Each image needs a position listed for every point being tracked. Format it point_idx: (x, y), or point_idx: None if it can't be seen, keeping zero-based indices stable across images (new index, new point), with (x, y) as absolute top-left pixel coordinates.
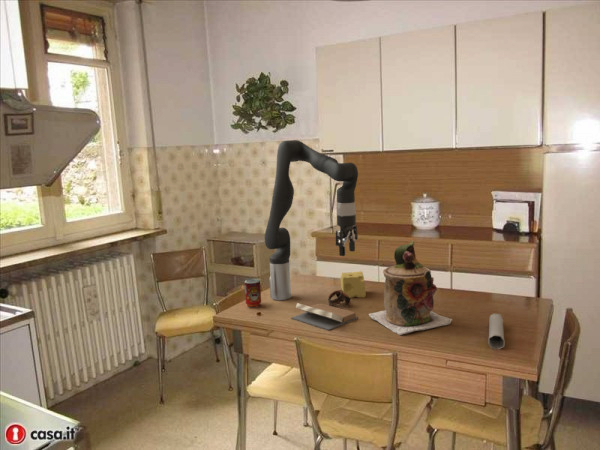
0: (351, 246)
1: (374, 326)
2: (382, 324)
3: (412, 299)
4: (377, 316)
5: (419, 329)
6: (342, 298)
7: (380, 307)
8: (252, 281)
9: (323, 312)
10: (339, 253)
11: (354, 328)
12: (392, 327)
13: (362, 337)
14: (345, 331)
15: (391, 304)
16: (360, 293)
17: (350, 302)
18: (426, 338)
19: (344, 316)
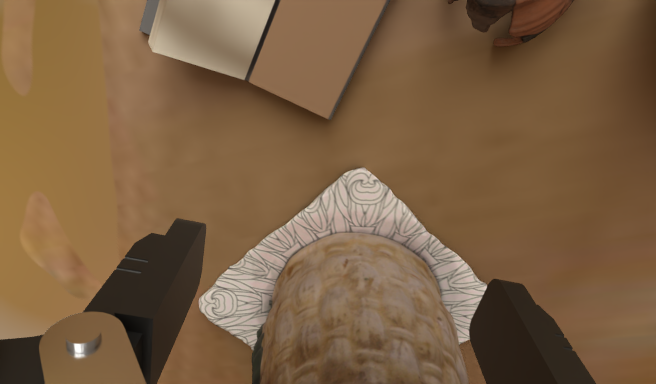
0: (508, 356)
1: (260, 203)
2: (274, 231)
3: None
4: (340, 205)
5: (250, 344)
6: (476, 12)
7: (496, 182)
8: None
9: None
10: (137, 242)
11: (213, 134)
12: (254, 267)
13: (135, 185)
14: (166, 106)
15: (276, 315)
16: None
17: (508, 44)
18: (210, 356)
19: (261, 81)
